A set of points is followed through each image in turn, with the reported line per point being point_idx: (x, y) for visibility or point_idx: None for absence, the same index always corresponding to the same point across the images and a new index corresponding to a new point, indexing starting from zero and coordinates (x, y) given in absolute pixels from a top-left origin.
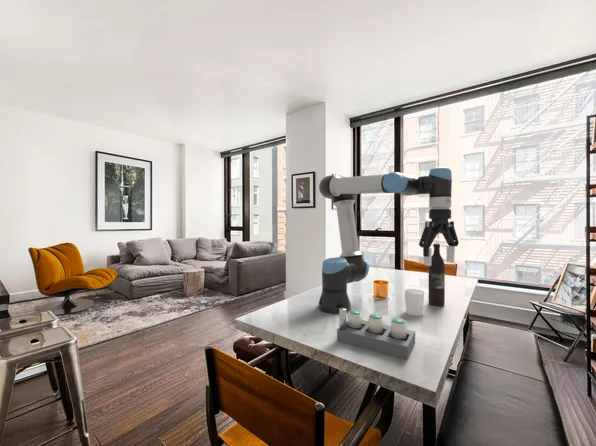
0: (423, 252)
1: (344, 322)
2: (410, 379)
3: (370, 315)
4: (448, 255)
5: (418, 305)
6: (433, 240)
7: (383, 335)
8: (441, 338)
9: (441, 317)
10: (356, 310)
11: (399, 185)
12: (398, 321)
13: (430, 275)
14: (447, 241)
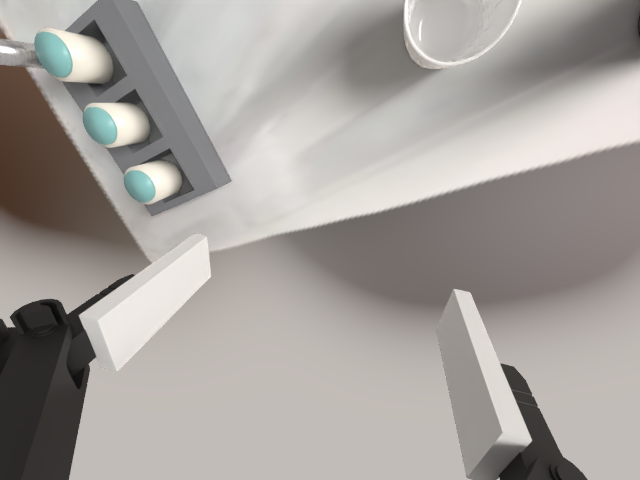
0: (100, 294)
1: (36, 67)
2: (140, 236)
3: (85, 113)
4: (461, 344)
5: (419, 63)
6: (70, 463)
7: (135, 155)
8: (303, 206)
9: (470, 130)
10: (59, 47)
11: None
12: (134, 190)
13: None
14: None
